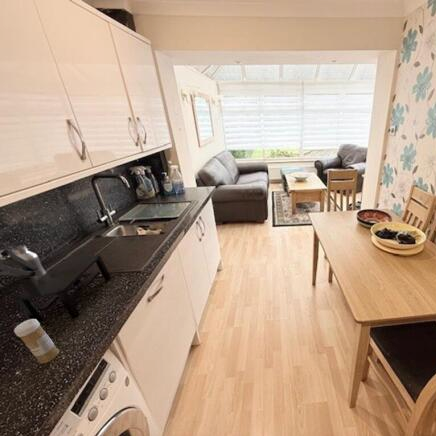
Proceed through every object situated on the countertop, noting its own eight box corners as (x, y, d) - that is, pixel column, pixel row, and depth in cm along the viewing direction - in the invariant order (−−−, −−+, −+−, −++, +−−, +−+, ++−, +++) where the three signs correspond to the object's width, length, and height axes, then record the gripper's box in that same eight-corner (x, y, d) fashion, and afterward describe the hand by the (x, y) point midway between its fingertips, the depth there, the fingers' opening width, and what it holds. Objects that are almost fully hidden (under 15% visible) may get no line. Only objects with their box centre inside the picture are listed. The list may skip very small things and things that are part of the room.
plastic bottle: (34, 288, 101) (7, 248, 92) (55, 280, 105) (31, 241, 96) (33, 295, 96) (4, 254, 88) (55, 287, 100) (29, 247, 91)
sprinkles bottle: (35, 363, 69) (8, 331, 63) (51, 349, 73) (26, 317, 67) (49, 364, 68) (23, 332, 62) (64, 349, 72) (41, 318, 67)
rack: (34, 324, 83) (14, 298, 77) (76, 282, 102) (63, 259, 97) (77, 317, 84) (60, 291, 79) (111, 277, 104) (99, 254, 98)
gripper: (-91, 280, 43) (-16, 357, 52) (28, 221, 65) (66, 281, 74) (-139, 287, 42) (-55, 363, 51) (-2, 224, 64) (40, 285, 74)
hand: (17, 315), depth 63 cm, fingers open, 13 cm apart
